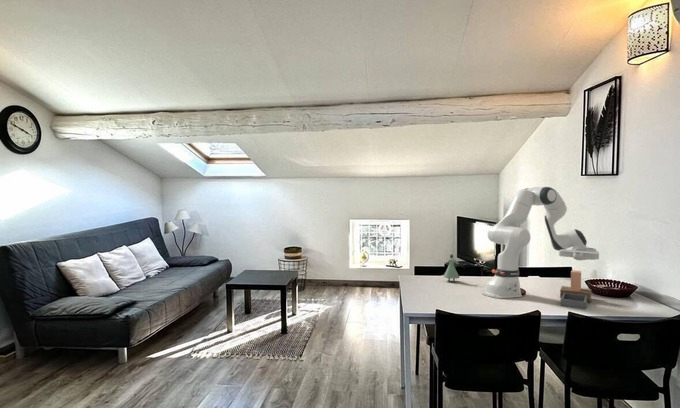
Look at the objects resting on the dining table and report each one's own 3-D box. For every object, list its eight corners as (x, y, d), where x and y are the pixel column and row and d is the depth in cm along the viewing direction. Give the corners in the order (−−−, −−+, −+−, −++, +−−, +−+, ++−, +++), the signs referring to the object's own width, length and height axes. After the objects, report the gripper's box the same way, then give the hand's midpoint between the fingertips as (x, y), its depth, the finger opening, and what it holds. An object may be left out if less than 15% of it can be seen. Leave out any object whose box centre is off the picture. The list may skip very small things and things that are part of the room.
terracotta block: (571, 287, 216) (571, 270, 216) (580, 288, 214) (581, 271, 214) (570, 290, 212) (571, 271, 211) (580, 291, 209) (580, 272, 209)
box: (563, 299, 212) (563, 292, 212) (587, 302, 205) (587, 295, 205) (560, 305, 199) (560, 298, 199) (585, 309, 193) (585, 302, 193)
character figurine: (464, 280, 257) (464, 253, 256) (466, 283, 249) (466, 255, 248) (439, 279, 259) (439, 252, 259) (440, 282, 251) (441, 254, 251)
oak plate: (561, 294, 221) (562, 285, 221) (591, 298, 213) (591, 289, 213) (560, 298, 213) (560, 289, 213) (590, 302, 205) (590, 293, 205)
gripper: (559, 246, 239) (557, 248, 228) (599, 249, 228) (598, 251, 216) (559, 256, 240) (557, 259, 228) (599, 259, 228) (598, 263, 217)
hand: (577, 255), depth 222 cm, fingers closed
